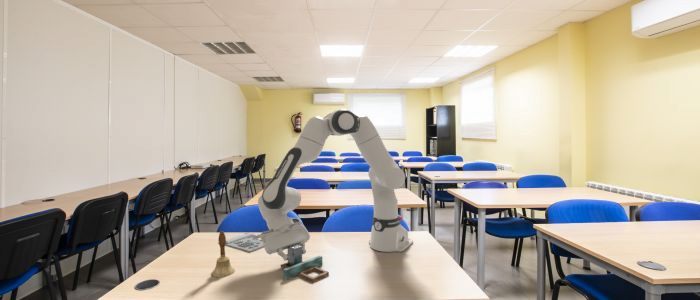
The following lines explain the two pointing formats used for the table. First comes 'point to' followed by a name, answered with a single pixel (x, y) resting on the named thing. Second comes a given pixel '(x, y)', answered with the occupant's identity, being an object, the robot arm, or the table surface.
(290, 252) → the gray block
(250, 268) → the table surface
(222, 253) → the hand bell
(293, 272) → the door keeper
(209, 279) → the table surface
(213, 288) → the table surface
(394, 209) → the robot arm
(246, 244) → the office telephone
